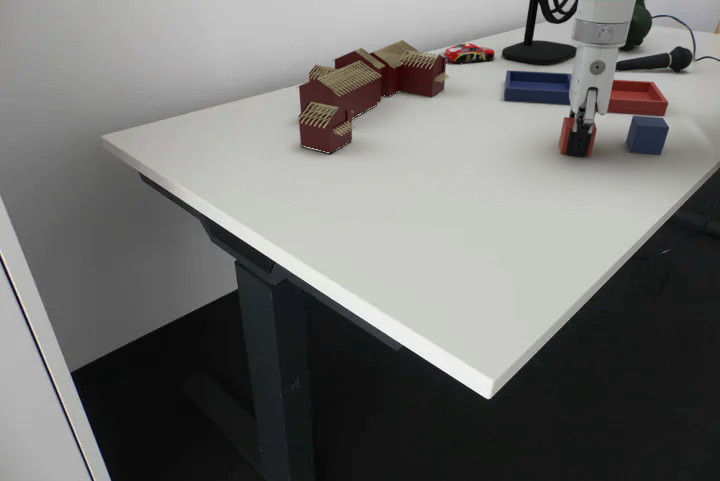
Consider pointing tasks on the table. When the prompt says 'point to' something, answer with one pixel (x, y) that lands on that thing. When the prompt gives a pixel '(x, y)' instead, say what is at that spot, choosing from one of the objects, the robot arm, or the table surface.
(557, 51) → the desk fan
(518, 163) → the table surface
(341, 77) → the toy houses
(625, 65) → the microphone
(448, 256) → the table surface
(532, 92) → the navy tray
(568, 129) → the red block
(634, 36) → the toy figurine
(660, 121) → the navy block
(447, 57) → the race car
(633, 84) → the red tray
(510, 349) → the table surface
